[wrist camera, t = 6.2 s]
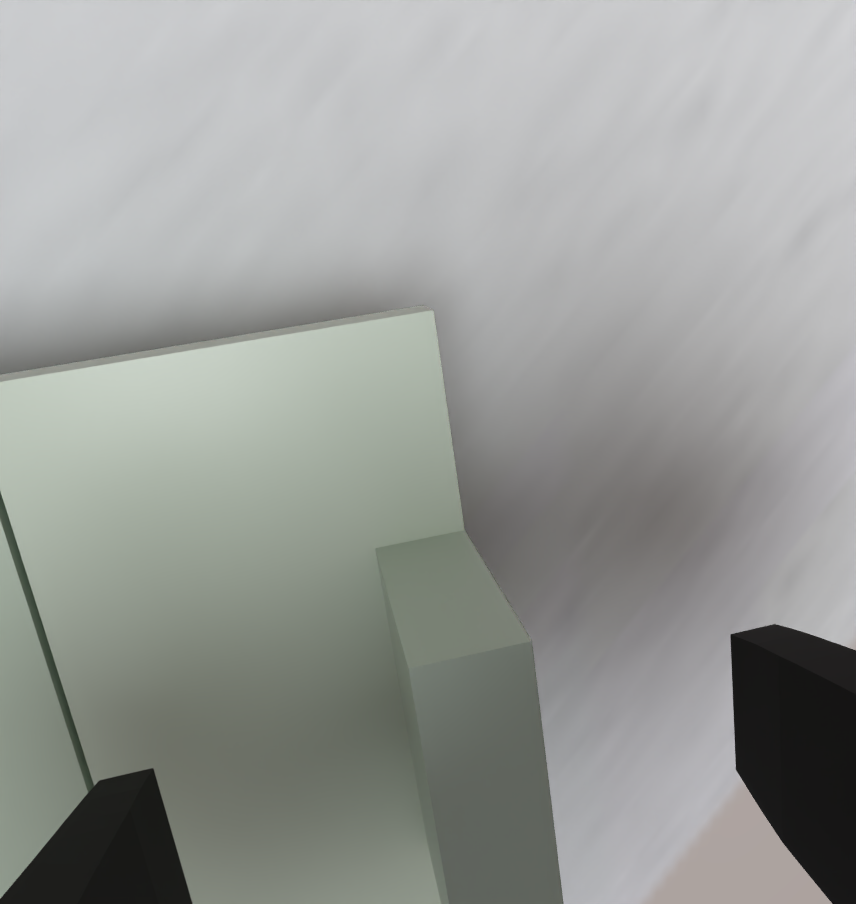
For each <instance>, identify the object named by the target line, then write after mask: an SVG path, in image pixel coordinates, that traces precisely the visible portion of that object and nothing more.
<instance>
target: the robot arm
mask: <svg viewBox="0 0 856 904" xmlns="http://www.w3.org/2000/svg"><path fill="white" fill-rule="evenodd" d="M731 657H732V681H733V706H734V730H735V754H736V770H737V772H738V774H739V775H740V777H741V778H742V780H743V782H744V783H745V785H746V787H747V788H748V790H749V791H750V793H751V795H752V796H753V798H754V799H755V801H756V802H757V804H758V806H759V807H760V809H761V811H762V812H763V814H764V815H765V817H766V818H767V820H768V821H769V823H770V824H771V826H772V827H773V828H774V830H775V832H776V833H777V835H778V836H779V838H780V839H781V841H782V842H783V843H784V845H785V846H786V847H787V848H788V850H789V851H790V852H791V853H792V855H793V856H794V857H795V858H796V860H797V861H798V862H799V863H800V865H801V866H802V867H803V868H804V869H805V871H806V872H807V873H808V874H809V876H810V877H811V878H812V879H813V880H814V882H815V883H816V884H817V885H818V887H819V888H820V889H821V890H822V891H823V893H824V894H825V895H826V896H827V898H828V899H829V900H830V901H831V902H832V904H856V650H853V649H850V648H847V647H844V646H842V645H839V644H836V643H833V642H830V641H827V640H825V639H822V638H819V637H816V636H813V635H810V634H807V633H804V632H801V631H797V630H794V629H791V628H787V627H783V626H780V625H776V624H774V625H769V626H765V627H761V628H756V629H752V630H748V631H743V632H739V633H735V634H731ZM0 904H192V900H191V897H190V893H189V890H188V886H187V883H186V879H185V876H184V872H183V869H182V866H181V862H180V859H179V855H178V852H177V848H176V845H175V841H174V838H173V834H172V831H171V827H170V824H169V821H168V817H167V814H166V810H165V807H164V803H163V800H162V796H161V793H160V789H159V786H158V782H157V779H156V776H155V772H154V769H153V768H150V769H146V770H142V771H138V772H133V773H129V774H125V775H120V776H116V777H112V778H107V779H103V780H99V781H98V782H97V784H96V785H95V786H94V787H93V788H92V789H91V790H90V791H89V792H88V794H87V795H86V796H85V797H84V798H83V800H82V801H81V802H80V803H79V804H78V805H77V807H76V808H75V809H74V810H73V811H72V813H71V814H70V815H69V816H68V818H67V819H66V820H65V821H64V822H63V824H62V825H61V826H60V827H59V829H58V830H57V831H56V832H55V833H54V835H53V836H52V837H51V838H50V840H49V841H48V842H47V843H46V844H45V846H44V847H43V848H42V849H41V851H40V852H39V853H38V854H37V855H36V857H35V858H34V859H33V860H32V861H31V863H30V864H29V865H28V866H27V867H26V869H25V870H24V871H23V872H22V873H21V875H20V876H19V877H18V878H17V879H16V881H15V882H14V883H13V884H12V885H11V886H10V888H9V889H8V890H7V891H6V892H5V894H4V895H3V896H2V897H1V898H0Z"/></svg>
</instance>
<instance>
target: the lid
mask: <svg viewBox="0 0 856 904" xmlns="http://www.w3.org/2000/svg"><path fill="white" fill-rule="evenodd" d="M150 768H153V769H154V772H155V776H156V779H157V782H158V786H159V789H160V793H161V796H162V800H163V803H164V807H165V810H166V814H167V817H168V821H169V824H170V827H171V831H172V834H173V838H174V841H175V845H176V848H177V852H178V855H179V859H180V862H181V866H182V869H183V872H184V876H185V879H186V883H187V886H188V890H189V893H190V897H191V900H192V904H563V896H562V888H561V879H560V871H559V863H558V855H557V846H556V838H555V830H554V821H553V813H552V805H551V796H550V788H549V780H548V771H547V763H546V755H545V747H544V738H543V730H542V722H541V713H540V705H539V697H538V688H537V680H536V672H535V663H534V655H533V647H532V641H531V639H530V637H529V636H528V634H527V632H526V631H525V629H524V627H523V626H522V624H521V622H520V621H519V619H518V617H517V616H516V614H515V612H514V611H513V609H512V607H511V606H510V604H509V603H508V601H507V599H506V598H505V596H504V594H503V593H502V591H501V589H500V588H499V586H498V584H497V583H496V581H495V579H494V578H493V576H492V574H491V573H490V571H489V569H488V568H487V566H486V565H485V563H484V561H483V560H482V558H481V556H480V555H479V553H478V551H477V550H476V548H475V546H474V545H473V543H472V541H471V540H470V538H469V536H468V535H467V533H466V532H465V529H464V522H463V515H462V508H461V501H460V494H459V486H458V479H457V472H456V465H455V458H454V451H453V444H452V437H451V430H450V423H449V416H448V409H447V402H446V395H445V387H444V380H443V373H442V366H441V359H440V352H439V345H438V338H437V331H436V324H435V317H434V310H432V309H430V308H428V307H426V306H424V305H420V306H414V307H408V308H402V309H396V310H390V311H384V312H378V313H372V314H366V315H360V316H354V317H348V318H341V319H335V320H329V321H323V322H317V323H311V324H305V325H299V326H293V327H287V328H281V329H275V330H268V331H262V332H256V333H250V334H244V335H238V336H232V337H226V338H220V339H214V340H208V341H202V342H196V343H189V344H183V345H177V346H171V347H165V348H159V349H153V350H147V351H141V352H135V353H129V354H123V355H116V356H110V357H104V358H98V359H92V360H86V361H80V362H74V363H68V364H62V365H56V366H50V367H44V368H37V369H31V370H25V371H19V372H13V373H7V374H1V375H0V898H1V897H2V896H3V895H4V894H5V892H6V891H7V890H8V889H9V888H10V886H11V885H12V884H13V883H14V882H15V881H16V879H17V878H18V877H19V876H20V875H21V873H22V872H23V871H24V870H25V869H26V867H27V866H28V865H29V864H30V863H31V861H32V860H33V859H34V858H35V857H36V855H37V854H38V853H39V852H40V851H41V849H42V848H43V847H44V846H45V844H46V843H47V842H48V841H49V840H50V838H51V837H52V836H53V835H54V833H55V832H56V831H57V830H58V829H59V827H60V826H61V825H62V824H63V822H64V821H65V820H66V819H67V818H68V816H69V815H70V814H71V813H72V811H73V810H74V809H75V808H76V807H77V805H78V804H79V803H80V802H81V801H82V800H83V798H84V797H85V796H86V795H87V794H88V792H89V791H90V790H91V789H92V788H93V787H94V786H95V785H96V784H97V782H98V781H99V780H103V779H107V778H112V777H116V776H120V775H125V774H129V773H133V772H138V771H142V770H146V769H150Z"/></svg>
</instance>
